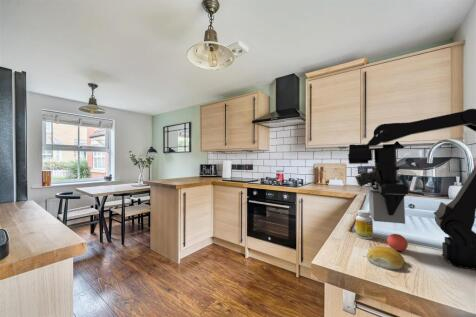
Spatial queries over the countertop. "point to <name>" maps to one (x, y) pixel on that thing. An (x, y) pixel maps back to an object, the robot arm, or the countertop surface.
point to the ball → (397, 242)
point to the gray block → (384, 209)
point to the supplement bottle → (364, 225)
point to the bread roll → (385, 258)
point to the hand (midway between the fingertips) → (387, 211)
